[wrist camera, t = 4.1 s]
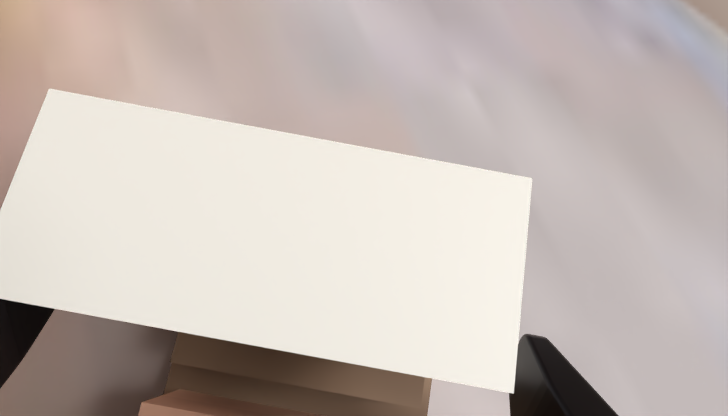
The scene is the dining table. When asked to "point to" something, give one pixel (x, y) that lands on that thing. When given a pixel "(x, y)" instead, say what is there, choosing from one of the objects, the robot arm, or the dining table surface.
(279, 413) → the block
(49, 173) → the tall white pillar
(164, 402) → the offcut top
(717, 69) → the dining table surface
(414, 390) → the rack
